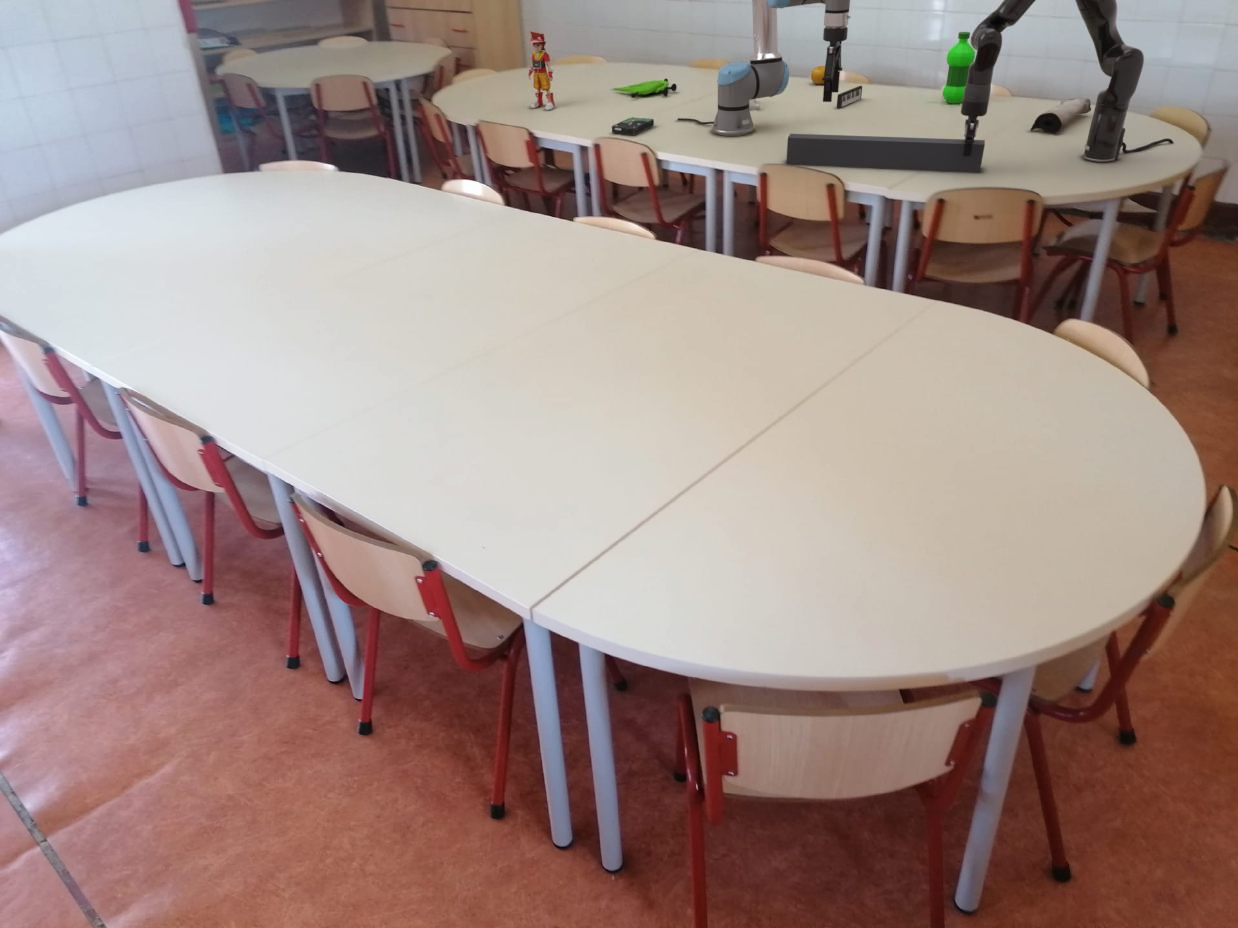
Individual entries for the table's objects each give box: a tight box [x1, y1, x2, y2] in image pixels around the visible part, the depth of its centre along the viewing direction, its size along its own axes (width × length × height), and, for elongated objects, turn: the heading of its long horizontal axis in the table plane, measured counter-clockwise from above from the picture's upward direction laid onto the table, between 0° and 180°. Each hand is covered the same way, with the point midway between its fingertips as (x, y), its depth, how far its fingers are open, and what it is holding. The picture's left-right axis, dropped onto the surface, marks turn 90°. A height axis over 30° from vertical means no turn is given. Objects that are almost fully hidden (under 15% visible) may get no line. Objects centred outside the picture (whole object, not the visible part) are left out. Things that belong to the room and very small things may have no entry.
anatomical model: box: [749, 99, 762, 110], centre depth 364 cm, size 15×10×10 cm
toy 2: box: [612, 78, 677, 99], centre depth 396 cm, size 28×5×30 cm
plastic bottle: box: [942, 31, 976, 104], centre depth 348 cm, size 10×10×25 cm
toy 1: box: [527, 31, 556, 111], centre depth 374 cm, size 12×9×30 cm
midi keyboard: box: [836, 85, 863, 109], centre depth 360 cm, size 18×1×5 cm, turn 138°
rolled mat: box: [1030, 97, 1092, 134], centre depth 321 cm, size 30×9×10 cm
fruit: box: [810, 65, 825, 85], centre depth 390 cm, size 8×8×8 cm
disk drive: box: [611, 116, 655, 136], centre depth 345 cm, size 10×3×15 cm
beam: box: [786, 133, 986, 173], centre depth 291 cm, size 61×5×9 cm, turn 71°
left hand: (830, 97), depth 298 cm, fingers open, 13 cm apart
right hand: (966, 152), depth 283 cm, fingers open, 8 cm apart
